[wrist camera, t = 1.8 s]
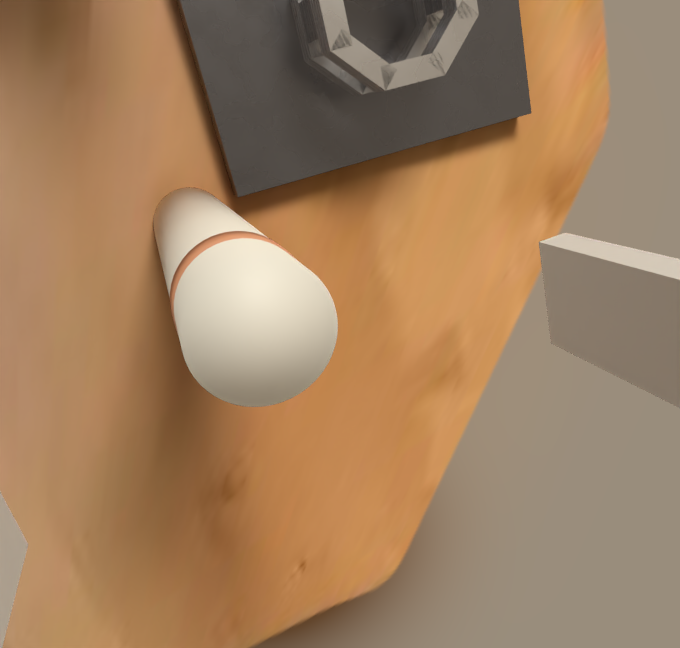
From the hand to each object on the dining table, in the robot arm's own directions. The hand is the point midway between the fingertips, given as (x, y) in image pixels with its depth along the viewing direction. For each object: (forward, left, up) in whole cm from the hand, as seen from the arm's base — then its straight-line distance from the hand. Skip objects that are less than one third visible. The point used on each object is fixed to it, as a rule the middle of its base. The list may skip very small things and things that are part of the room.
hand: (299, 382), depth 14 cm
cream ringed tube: (0, 0, -26) cm, 26 cm away
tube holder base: (+13, +9, -26) cm, 30 cm away
